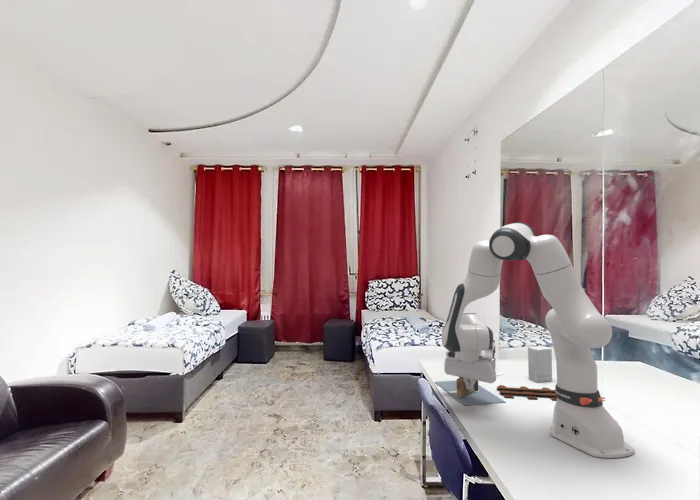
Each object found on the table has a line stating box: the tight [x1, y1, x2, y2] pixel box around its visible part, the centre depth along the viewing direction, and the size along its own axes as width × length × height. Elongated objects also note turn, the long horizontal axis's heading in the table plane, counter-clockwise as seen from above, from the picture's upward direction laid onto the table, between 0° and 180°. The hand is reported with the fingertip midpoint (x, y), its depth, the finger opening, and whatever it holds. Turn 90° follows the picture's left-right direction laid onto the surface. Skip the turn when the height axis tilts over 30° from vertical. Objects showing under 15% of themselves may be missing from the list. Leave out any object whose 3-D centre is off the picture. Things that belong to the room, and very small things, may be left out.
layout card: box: [434, 379, 507, 407], centre depth 160 cm, size 28×17×1 cm, turn 10°
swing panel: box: [456, 377, 475, 398], centre depth 156 cm, size 12×1×7 cm, turn 134°
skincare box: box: [527, 345, 553, 383], centre depth 175 cm, size 8×6×15 cm
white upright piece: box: [483, 339, 503, 377], centre depth 187 cm, size 12×11×15 cm
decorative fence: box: [496, 384, 557, 402], centre depth 159 cm, size 23×2×15 cm
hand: (469, 389), depth 152 cm, fingers closed
